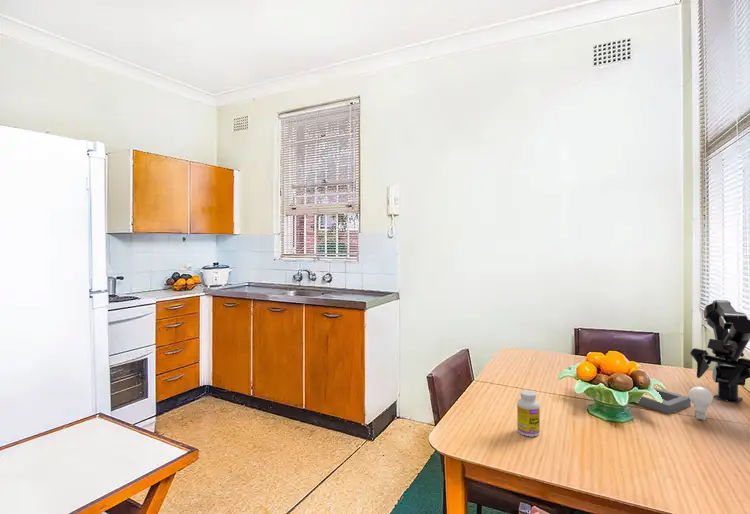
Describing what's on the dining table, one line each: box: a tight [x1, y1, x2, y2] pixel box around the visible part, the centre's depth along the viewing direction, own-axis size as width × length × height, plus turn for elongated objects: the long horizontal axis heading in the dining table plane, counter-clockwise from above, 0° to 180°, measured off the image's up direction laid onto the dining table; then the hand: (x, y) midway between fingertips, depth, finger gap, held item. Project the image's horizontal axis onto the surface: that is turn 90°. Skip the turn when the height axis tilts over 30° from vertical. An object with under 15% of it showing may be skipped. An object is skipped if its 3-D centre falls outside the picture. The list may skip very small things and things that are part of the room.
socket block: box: [637, 387, 692, 415], centre depth 151 cm, size 14×13×3 cm
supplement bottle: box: [516, 389, 541, 438], centre depth 131 cm, size 7×7×13 cm
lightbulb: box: [688, 385, 714, 421], centre depth 137 cm, size 6×6×11 cm
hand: (712, 381), depth 139 cm, fingers open, 9 cm apart
